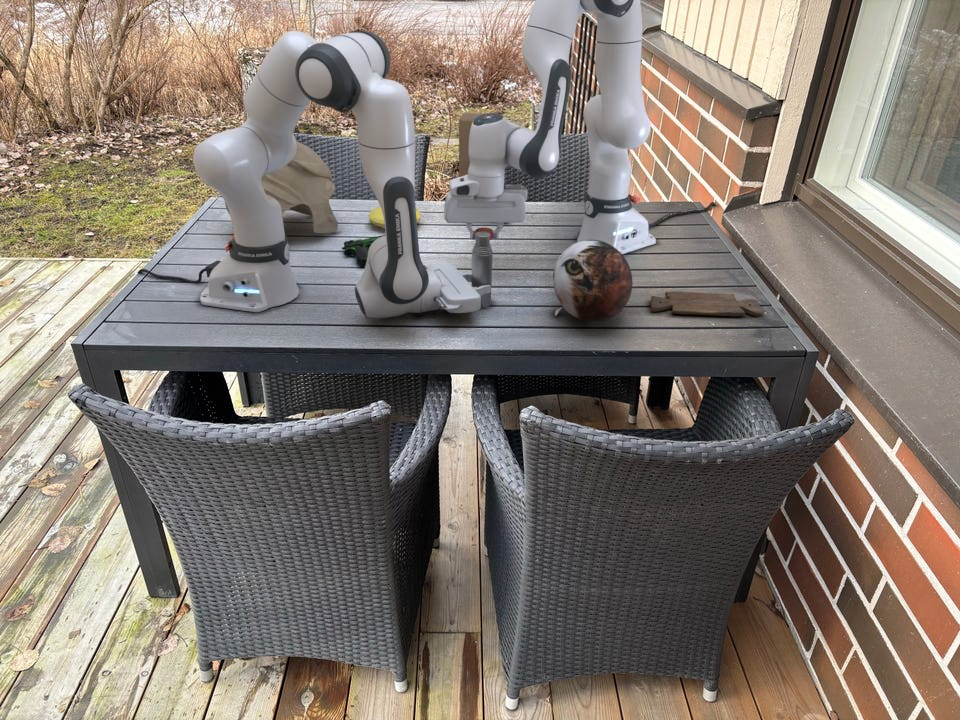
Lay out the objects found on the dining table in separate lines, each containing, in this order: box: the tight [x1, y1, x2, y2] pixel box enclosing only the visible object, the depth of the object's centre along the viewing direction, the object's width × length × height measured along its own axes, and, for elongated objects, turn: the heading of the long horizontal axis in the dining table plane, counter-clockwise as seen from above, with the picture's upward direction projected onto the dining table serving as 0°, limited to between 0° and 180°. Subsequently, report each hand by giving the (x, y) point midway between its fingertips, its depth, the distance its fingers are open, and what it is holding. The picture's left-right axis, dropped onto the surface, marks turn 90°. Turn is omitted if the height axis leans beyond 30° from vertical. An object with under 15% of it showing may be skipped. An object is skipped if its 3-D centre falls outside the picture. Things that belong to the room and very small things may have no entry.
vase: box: [367, 206, 423, 229], centre depth 210 cm, size 16×16×7 cm
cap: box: [474, 227, 494, 241], centre depth 180 cm, size 4×4×2 cm
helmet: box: [224, 123, 339, 234], centre depth 198 cm, size 27×30×30 cm
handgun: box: [341, 234, 385, 268], centre depth 192 cm, size 16×3×15 cm
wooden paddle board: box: [650, 291, 765, 317], centre depth 167 cm, size 26×2×10 cm
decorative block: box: [458, 112, 484, 178], centre depth 210 cm, size 8×15×30 cm, turn 82°
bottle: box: [470, 232, 494, 309], centre depth 163 cm, size 5×5×17 cm
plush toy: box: [552, 240, 633, 323], centre depth 159 cm, size 22×18×20 cm
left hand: (484, 282), depth 165 cm, fingers closed on bottle, 5 cm apart
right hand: (483, 238), depth 180 cm, fingers closed on cap, 4 cm apart
